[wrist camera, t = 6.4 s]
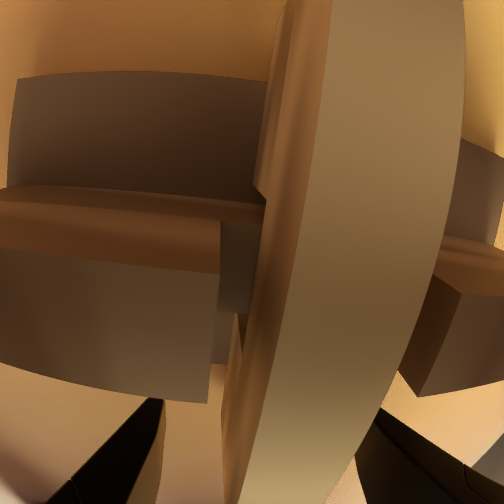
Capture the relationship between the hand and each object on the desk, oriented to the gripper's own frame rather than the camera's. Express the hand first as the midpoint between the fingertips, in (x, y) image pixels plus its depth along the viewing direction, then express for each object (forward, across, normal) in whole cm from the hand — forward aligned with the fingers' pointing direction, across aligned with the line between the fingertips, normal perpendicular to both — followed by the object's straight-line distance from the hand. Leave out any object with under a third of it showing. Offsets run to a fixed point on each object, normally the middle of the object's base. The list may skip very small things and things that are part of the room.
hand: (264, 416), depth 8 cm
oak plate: (+2, 0, -4) cm, 4 cm away
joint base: (+3, 0, -4) cm, 5 cm away
